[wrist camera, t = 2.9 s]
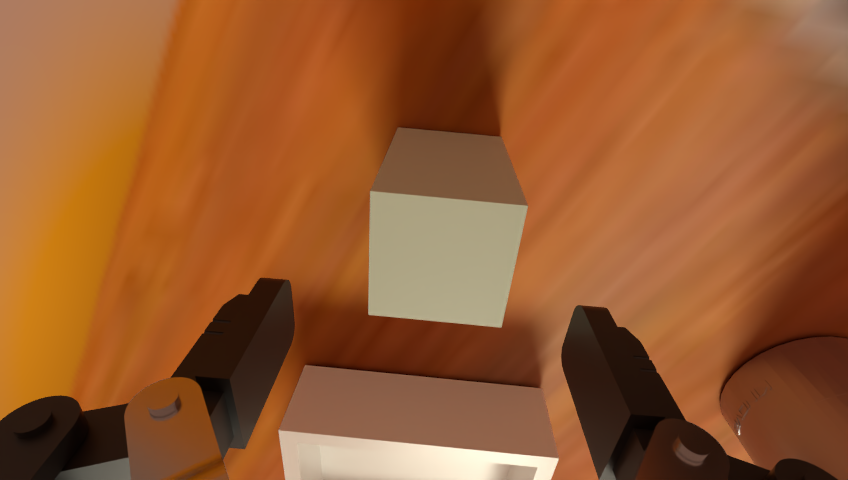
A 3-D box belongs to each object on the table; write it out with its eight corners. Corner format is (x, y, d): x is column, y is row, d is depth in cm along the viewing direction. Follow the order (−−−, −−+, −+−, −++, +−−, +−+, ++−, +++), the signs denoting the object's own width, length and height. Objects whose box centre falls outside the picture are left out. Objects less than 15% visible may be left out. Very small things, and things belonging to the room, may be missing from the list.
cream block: (501, 136, 20) (527, 205, 13) (486, 228, 23) (501, 327, 16) (397, 127, 20) (370, 191, 13) (393, 219, 23) (368, 314, 16)
